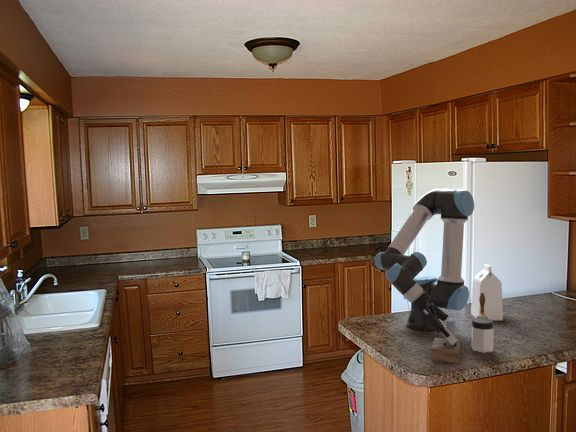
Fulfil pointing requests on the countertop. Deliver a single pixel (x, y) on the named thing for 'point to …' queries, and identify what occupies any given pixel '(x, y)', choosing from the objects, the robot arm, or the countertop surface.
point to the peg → (451, 327)
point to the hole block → (445, 351)
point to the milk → (487, 294)
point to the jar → (482, 335)
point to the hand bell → (482, 306)
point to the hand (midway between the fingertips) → (456, 337)
